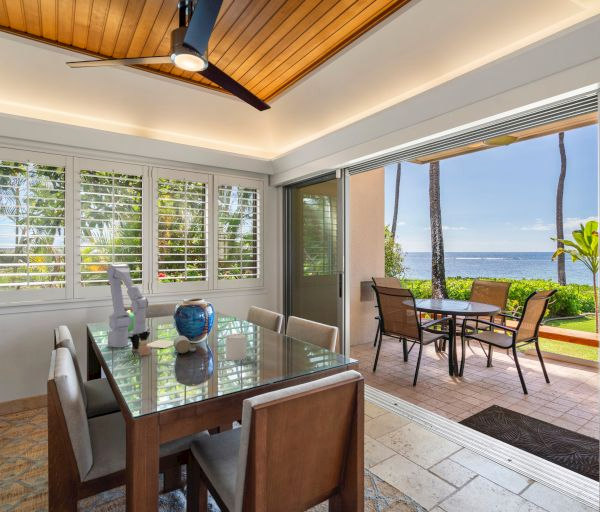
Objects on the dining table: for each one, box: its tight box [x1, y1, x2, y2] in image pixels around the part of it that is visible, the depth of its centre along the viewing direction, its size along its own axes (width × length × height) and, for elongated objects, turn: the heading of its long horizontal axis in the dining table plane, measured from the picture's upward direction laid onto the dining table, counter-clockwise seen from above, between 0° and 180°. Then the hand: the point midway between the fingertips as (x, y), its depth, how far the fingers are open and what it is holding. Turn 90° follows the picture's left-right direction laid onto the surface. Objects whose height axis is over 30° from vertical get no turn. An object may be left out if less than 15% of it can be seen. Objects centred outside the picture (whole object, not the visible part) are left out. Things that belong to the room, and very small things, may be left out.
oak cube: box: [131, 339, 148, 353], centre depth 188 cm, size 5×5×5 cm
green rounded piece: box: [116, 309, 134, 333], centre depth 222 cm, size 18×17×15 cm
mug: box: [225, 333, 248, 362], centre depth 178 cm, size 14×10×11 cm
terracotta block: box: [139, 346, 152, 357], centre depth 180 cm, size 4×4×4 cm
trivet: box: [147, 339, 174, 350], centre depth 200 cm, size 14×14×1 cm
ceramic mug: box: [173, 335, 197, 354], centre depth 186 cm, size 11×8×8 cm
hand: (139, 347), depth 188 cm, fingers closed on oak cube, 5 cm apart
